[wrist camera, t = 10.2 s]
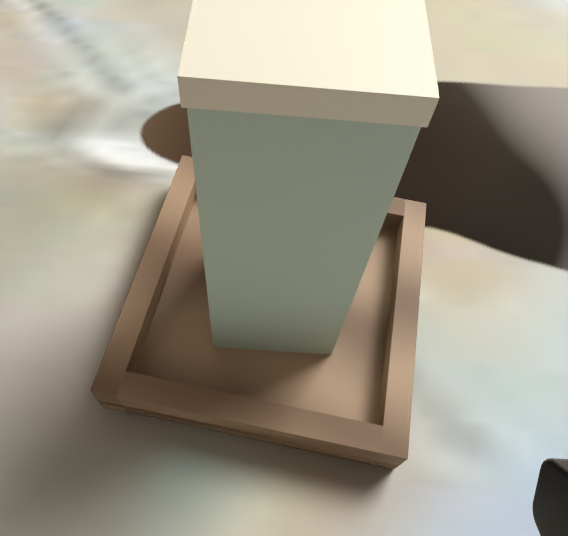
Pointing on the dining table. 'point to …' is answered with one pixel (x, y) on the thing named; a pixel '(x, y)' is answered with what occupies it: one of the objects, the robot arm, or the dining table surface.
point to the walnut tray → (270, 364)
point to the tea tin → (298, 154)
